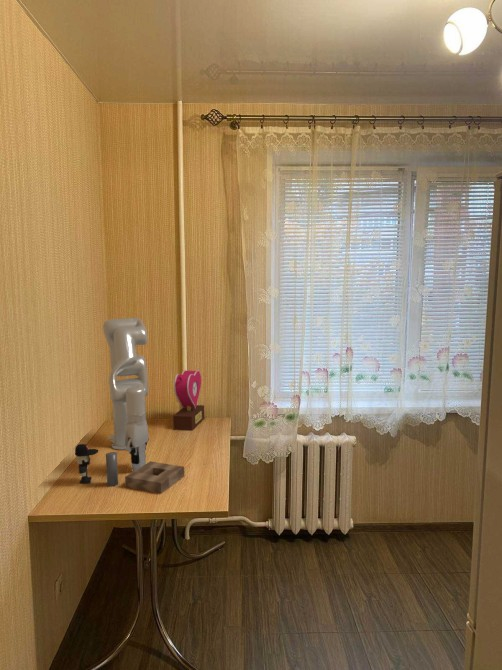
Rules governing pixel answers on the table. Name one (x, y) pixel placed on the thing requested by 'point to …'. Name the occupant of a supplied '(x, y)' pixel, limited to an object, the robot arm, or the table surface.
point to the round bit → (112, 469)
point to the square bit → (140, 457)
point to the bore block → (154, 477)
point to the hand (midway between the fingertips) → (138, 461)
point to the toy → (84, 461)
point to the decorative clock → (188, 401)
